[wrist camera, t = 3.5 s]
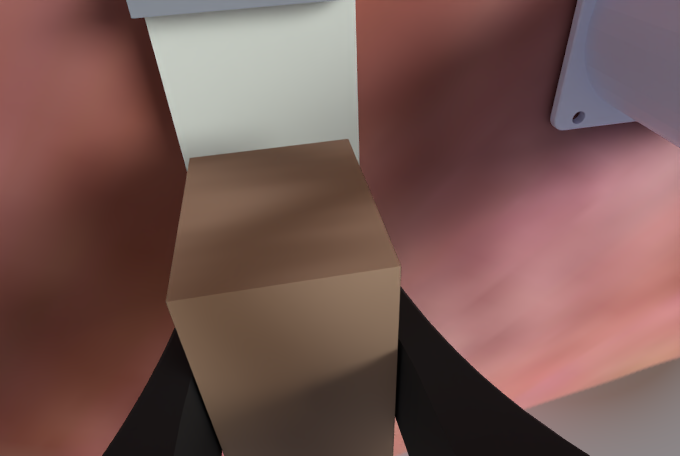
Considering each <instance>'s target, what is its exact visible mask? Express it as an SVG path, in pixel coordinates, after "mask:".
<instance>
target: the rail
mask: <svg viewBox="0 0 680 456" xmlns="http://www.w3.org/2000/svg"><path fill="white" fill-rule="evenodd" d="M126 1H127V5H128V8H129V12H130V15H131V18H143V17H145V21H146V25H147V28H148V32H149V35H150V39H151V43H152V46H153V50H154V54H155V57H156V61H157V64H158V68H159V72H160V75H161V79H162V83H163V86H164V90H165V93H166V97H167V101H168V104H169V108H170V112H171V115H172V119H173V122H174V126H175V130H176V133H177V137H178V141H179V144H180V148H181V151H182V155H183V159H184V162H185V166H186V169H187V171H188V165H189V159H190V158H193V157H202V156H210V155H218V154H226V153H235V152H243V151H251V150H260V149H268V148H276V147H284V146H293V145H301V144H309V143H317V142H326V141H334V140H342V139H349V142H350V144H351V146H352V149H353V151H354V154H355V156H356V158H357V161H358V163H359V127H358V89H357V50H356V12H355V0H126ZM359 166H360V165H359Z"/></svg>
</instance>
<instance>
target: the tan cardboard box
mask: <svg viewBox="0 0 680 456" xmlns="http://www.w3.org/2000/svg"><path fill="white" fill-rule="evenodd" d="M400 280H401V265H400V262H399V260H398V257H397V255H396V253H395V250H394V248H393V245H392V243H391V240H390V238H389V236H388V233H387V231H386V228H385V226H384V224H383V221H382V219H381V216H380V214H379V212H378V209H377V207H376V204H375V202H374V199H373V197H372V195H371V192H370V190H369V187H368V185H367V183H366V180H365V178H364V175H363V173H362V170H361V168H360V166H359V163H358V161H357V158H356V156H355V154H354V151H353V149H352V146H351V144H350V142H349V139H342V140H334V141H326V142H317V143H309V144H301V145H293V146H284V147H276V148H268V149H260V150H251V151H243V152H235V153H226V154H218V155H210V156H202V157H193V158H190V159H189V165H188V171H187V177H186V183H185V189H184V195H183V201H182V207H181V213H180V219H179V225H178V231H177V237H176V243H175V249H174V255H173V261H172V267H171V273H170V279H169V285H168V291H167V297H166V304H167V307H168V309H169V312H170V315H171V317H172V320H173V323H174V325H175V328H176V330H177V333H178V336H179V338H180V341H181V344H182V346H183V349H184V351H185V354H186V357H187V359H188V362H189V364H190V367H191V370H192V372H193V375H194V378H195V380H196V383H197V385H198V388H199V391H200V393H201V396H202V398H203V401H204V404H205V406H206V409H207V412H208V414H209V417H210V419H211V422H212V425H213V427H214V430H215V432H216V435H217V438H218V440H219V443H220V446H221V448H222V451H223V453H224V456H393V446H394V423H395V399H396V375H397V352H398V328H399V304H400Z"/></svg>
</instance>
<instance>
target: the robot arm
mask: <svg viewBox="0 0 680 456" xmlns="http://www.w3.org/2000/svg"><path fill="white" fill-rule="evenodd" d="M577 112H580V113H579V115H578V116H577V117H576V118H575V119H573V120H572V118H573V117H574V115H575V114H576V113H577ZM634 121H637V122H639V123H640V124H642V125H643V126H645V127H647V128H648V129H650V130H652V131H653V132H655V133H656V134H658V135H660V136H661V137H663V138H665V139H666V140H668V141H669V142H671V143H673V144H674V145H676V146H678V147H679V148H680V0H577V5H576V9H575V13H574V18H573V22H572V26H571V31H570V35H569V39H568V44H567V48H566V52H565V56H564V61H563V65H562V69H561V74H560V78H559V82H558V87H557V91H556V95H555V100H554V104H553V108H552V112H551V117H550V122H551V124H552V125H553V126H554V127H555V128H557V129H558V130H570V129H578V128H586V127H594V126H602V125H610V124H618V123H626V122H634ZM395 418H396V421H397V423H398V426H399V429H400V432H401V435H402V437H403V440H404V443H405V446H406V449H407V451H408V455H409V456H589V455H588V454H587V453H585V452H583V451H582V450H580V449H579V448H577V447H576V446H574V445H573V444H571V443H570V442H568V441H566V440H565V439H563V438H562V437H561V436H559V435H558V434H556V433H555V432H554V431H552V430H551V429H550V428H548V427H547V426H545V425H544V424H543V423H541V422H540V421H538V420H537V419H536V418H534V417H533V416H531V415H530V414H529V413H527V412H526V411H525V410H523V409H522V408H521V407H519V406H518V405H517V404H516V403H514V402H513V401H512V400H511V399H509V398H508V397H507V396H506V395H504V394H503V393H502V392H501V391H500V390H498V389H497V388H496V387H495V386H494V385H493V384H491V383H490V382H489V381H488V380H487V379H486V378H484V377H483V376H482V375H481V374H480V373H479V372H478V371H477V370H476V369H475V368H474V367H472V366H471V365H470V364H469V363H468V362H467V361H466V360H465V359H464V358H463V357H462V356H461V355H460V354H459V353H458V352H457V351H456V350H455V349H454V348H453V347H452V346H451V345H450V344H449V343H448V342H447V341H446V340H445V338H444V337H443V336H442V335H441V334H440V333H439V332H438V331H437V330H436V329H435V328H434V326H433V325H432V324H431V323H430V322H429V321H428V320H427V319H426V317H425V316H424V315H423V314H422V313H421V311H420V310H419V309H418V308H417V307H416V305H415V304H414V303H413V302H412V300H411V299H410V298H409V297H408V295H407V294H406V293H405V291H404V290H403V289H402V287H401V286H400V304H399V328H398V352H397V375H396V399H395ZM102 456H222V448H221V446H220V443H219V440H218V438H217V435H216V432H215V430H214V427H213V425H212V422H211V419H210V417H209V414H208V412H207V409H206V406H205V404H204V401H203V398H202V396H201V393H200V391H199V388H198V385H197V383H196V380H195V378H194V375H193V372H192V370H191V367H190V364H189V362H188V359H187V357H186V354H185V351H184V349H183V346H182V344H181V341H180V338H179V336H178V333H177V330H176V328H174V331H173V333H172V335H171V337H170V339H169V342H168V344H167V346H166V348H165V350H164V352H163V354H162V356H161V358H160V360H159V362H158V364H157V366H156V368H155V369H154V371H153V373H152V375H151V377H150V379H149V381H148V383H147V384H146V386H145V388H144V390H143V392H142V393H141V395H140V397H139V398H138V400H137V402H136V403H135V405H134V407H133V408H132V410H131V412H130V413H129V415H128V417H127V418H126V420H125V422H124V423H123V425H122V427H121V428H120V430H119V431H118V433H117V434H116V436H115V437H114V439H113V440H112V442H111V443H110V445H109V446H108V448H107V449H106V451H105V452H104V454H103V455H102Z"/></svg>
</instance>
